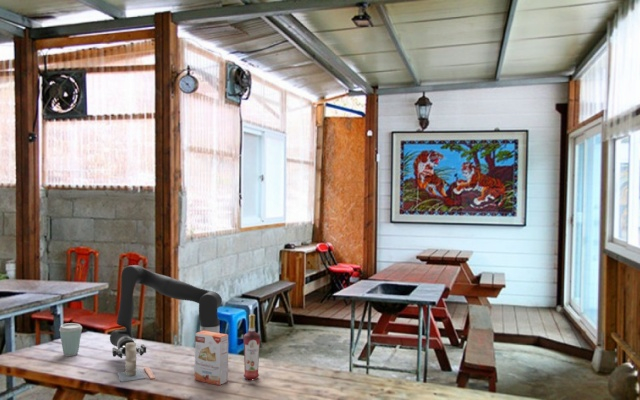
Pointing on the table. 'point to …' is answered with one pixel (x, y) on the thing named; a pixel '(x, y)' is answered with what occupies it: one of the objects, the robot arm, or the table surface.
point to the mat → (124, 378)
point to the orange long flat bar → (149, 373)
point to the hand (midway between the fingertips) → (131, 354)
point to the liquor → (251, 350)
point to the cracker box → (211, 357)
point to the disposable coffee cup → (70, 338)
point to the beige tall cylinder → (130, 359)
